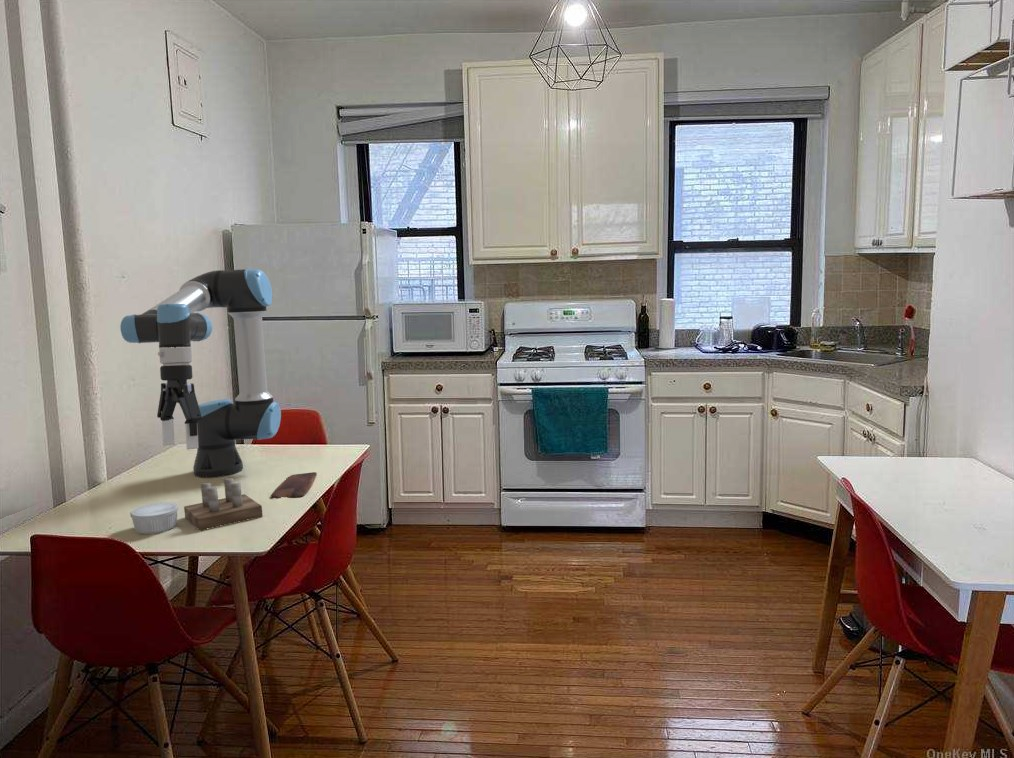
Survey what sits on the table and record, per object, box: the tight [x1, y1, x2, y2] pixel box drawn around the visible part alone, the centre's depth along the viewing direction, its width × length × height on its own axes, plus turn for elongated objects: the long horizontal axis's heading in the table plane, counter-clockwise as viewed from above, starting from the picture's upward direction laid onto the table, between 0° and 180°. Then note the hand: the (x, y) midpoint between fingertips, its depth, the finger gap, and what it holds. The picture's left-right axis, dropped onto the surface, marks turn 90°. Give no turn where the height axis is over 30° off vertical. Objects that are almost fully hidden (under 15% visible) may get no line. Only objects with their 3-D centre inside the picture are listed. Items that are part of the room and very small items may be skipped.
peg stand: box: [183, 477, 263, 531], centre depth 203 cm, size 14×16×9 cm
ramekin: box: [129, 501, 179, 535], centre depth 196 cm, size 11×11×5 cm
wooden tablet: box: [270, 471, 317, 499], centre depth 232 cm, size 26×2×10 cm
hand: (180, 447), depth 198 cm, fingers open, 13 cm apart
